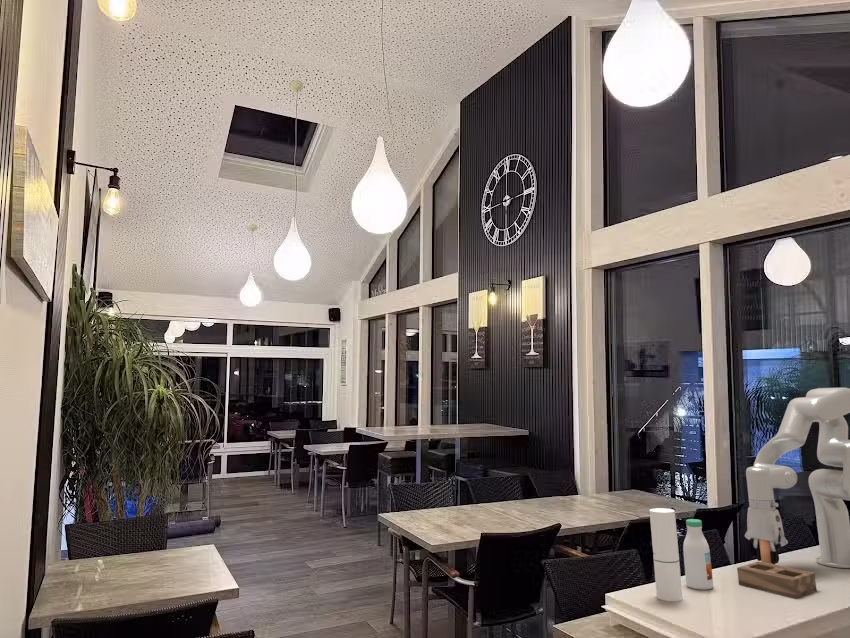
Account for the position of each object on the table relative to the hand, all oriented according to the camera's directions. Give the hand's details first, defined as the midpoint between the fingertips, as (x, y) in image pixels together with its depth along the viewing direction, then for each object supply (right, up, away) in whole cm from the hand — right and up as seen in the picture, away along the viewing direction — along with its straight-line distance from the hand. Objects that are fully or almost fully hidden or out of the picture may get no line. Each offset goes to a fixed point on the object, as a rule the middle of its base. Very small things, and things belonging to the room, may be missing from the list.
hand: (768, 561), depth 199 cm
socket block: (-6, -2, -15) cm, 17 cm away
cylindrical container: (-41, -3, -21) cm, 46 cm away
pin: (0, -4, -1) cm, 4 cm away
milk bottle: (-28, -3, -12) cm, 31 cm away
